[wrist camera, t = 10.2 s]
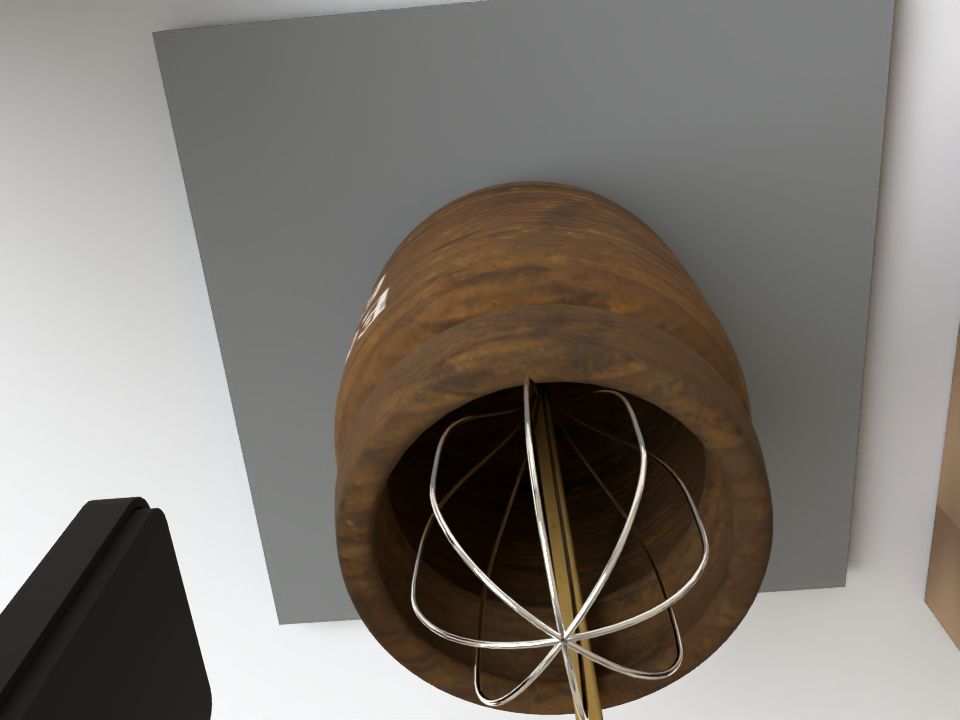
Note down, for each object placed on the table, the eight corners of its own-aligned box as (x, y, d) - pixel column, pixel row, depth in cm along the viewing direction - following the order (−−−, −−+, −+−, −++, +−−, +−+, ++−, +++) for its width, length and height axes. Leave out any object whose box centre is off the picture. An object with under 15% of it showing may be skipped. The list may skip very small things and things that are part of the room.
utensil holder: (663, 134, 15) (1132, 533, 4) (708, 454, 18) (1081, 1246, 7) (329, 207, 16) (-37, 734, 5) (416, 508, 18) (306, 1327, 7)
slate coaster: (164, 31, 15) (152, 32, 15) (882, -37, 15) (898, -38, 14) (284, 606, 20) (279, 624, 19) (835, 569, 19) (845, 586, 19)
